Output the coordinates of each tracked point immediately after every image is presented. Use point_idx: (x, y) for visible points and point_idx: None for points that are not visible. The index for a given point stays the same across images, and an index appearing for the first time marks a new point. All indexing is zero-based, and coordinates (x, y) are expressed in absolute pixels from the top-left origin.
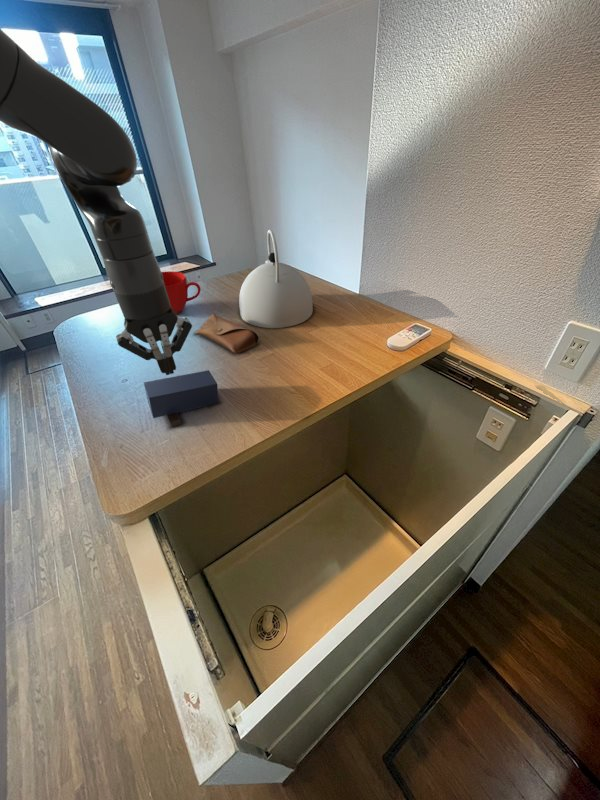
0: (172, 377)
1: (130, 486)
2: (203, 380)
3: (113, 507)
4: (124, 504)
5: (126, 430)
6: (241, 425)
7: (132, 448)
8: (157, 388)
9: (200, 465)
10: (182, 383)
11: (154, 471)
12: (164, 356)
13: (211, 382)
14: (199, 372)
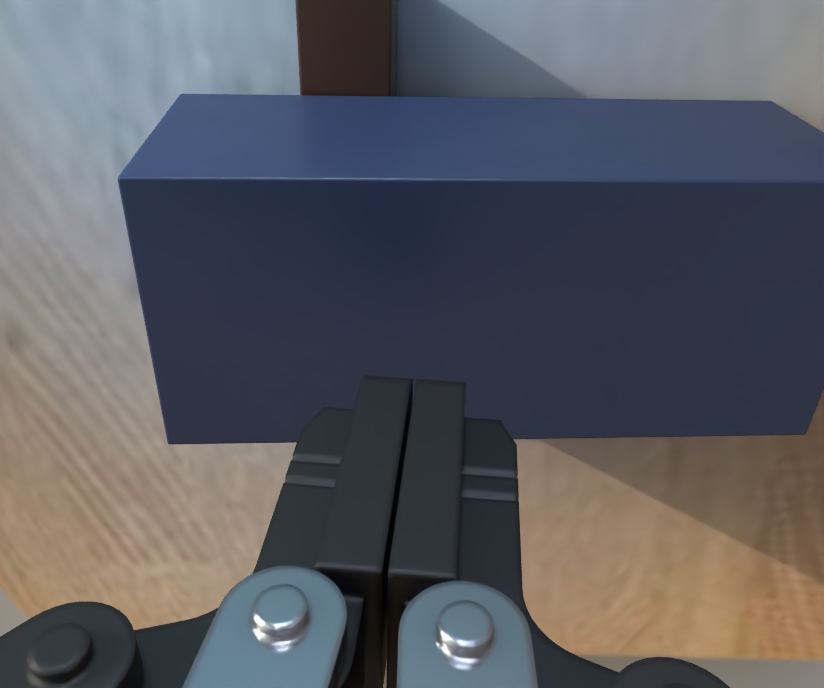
0: (456, 192)
1: (86, 571)
2: (727, 350)
3: (27, 613)
4: None
5: (27, 217)
6: (702, 549)
7: (80, 385)
8: (258, 337)
9: None
10: (517, 333)
11: (191, 560)
12: (391, 652)
13: (772, 404)
14: (781, 194)
